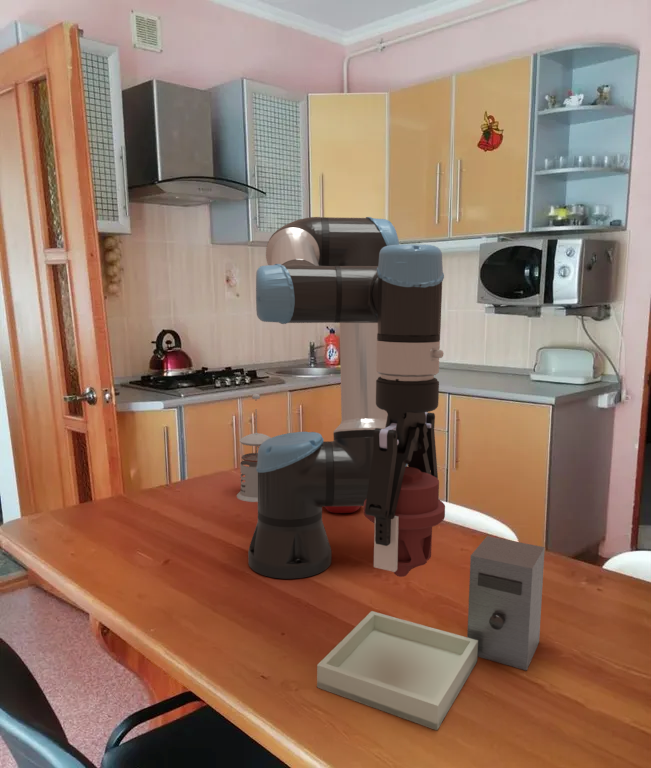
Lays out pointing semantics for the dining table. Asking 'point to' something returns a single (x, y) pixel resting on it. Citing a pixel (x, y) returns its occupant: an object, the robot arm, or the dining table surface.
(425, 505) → the mechanical component
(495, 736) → the dining table surface
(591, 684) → the dining table surface
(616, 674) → the dining table surface
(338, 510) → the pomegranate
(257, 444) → the french press
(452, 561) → the dining table surface
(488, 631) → the unit
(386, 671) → the tray
